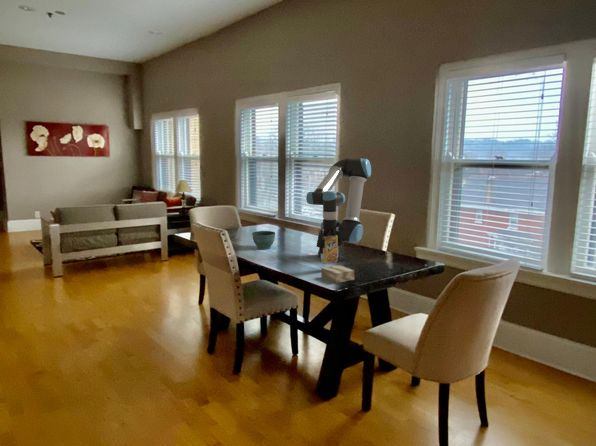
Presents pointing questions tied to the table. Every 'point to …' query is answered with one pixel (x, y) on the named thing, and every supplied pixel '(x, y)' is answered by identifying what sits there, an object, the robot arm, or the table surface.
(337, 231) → the robot arm
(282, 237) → the table surface
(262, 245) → the flower pot
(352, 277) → the birch stand
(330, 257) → the candy box
